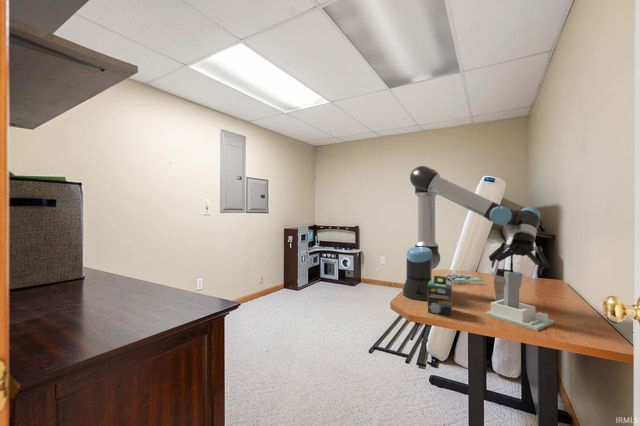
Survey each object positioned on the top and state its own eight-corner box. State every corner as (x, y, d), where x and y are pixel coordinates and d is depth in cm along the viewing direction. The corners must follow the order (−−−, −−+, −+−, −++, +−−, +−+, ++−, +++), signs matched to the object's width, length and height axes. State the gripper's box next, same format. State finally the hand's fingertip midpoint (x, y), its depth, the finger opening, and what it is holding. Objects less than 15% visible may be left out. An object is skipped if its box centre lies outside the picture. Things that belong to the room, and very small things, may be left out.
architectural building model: (484, 314, 115) (484, 302, 115) (502, 309, 122) (502, 297, 122) (537, 330, 99) (537, 316, 99) (553, 323, 107) (554, 309, 107)
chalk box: (451, 309, 121) (452, 274, 121) (451, 316, 112) (452, 279, 112) (428, 306, 125) (429, 272, 125) (427, 312, 116) (427, 276, 116)
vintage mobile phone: (521, 316, 110) (522, 252, 110) (507, 315, 111) (508, 251, 111) (517, 313, 114) (518, 251, 114) (503, 312, 115) (504, 250, 115)
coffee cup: (518, 302, 132) (519, 269, 132) (512, 306, 126) (512, 272, 126) (496, 297, 139) (497, 266, 139) (489, 301, 133) (490, 269, 133)
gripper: (563, 245, 114) (554, 289, 104) (493, 240, 132) (480, 277, 122) (560, 233, 110) (552, 277, 100) (489, 229, 129) (476, 266, 119)
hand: (512, 277), depth 111 cm, fingers open, 13 cm apart
